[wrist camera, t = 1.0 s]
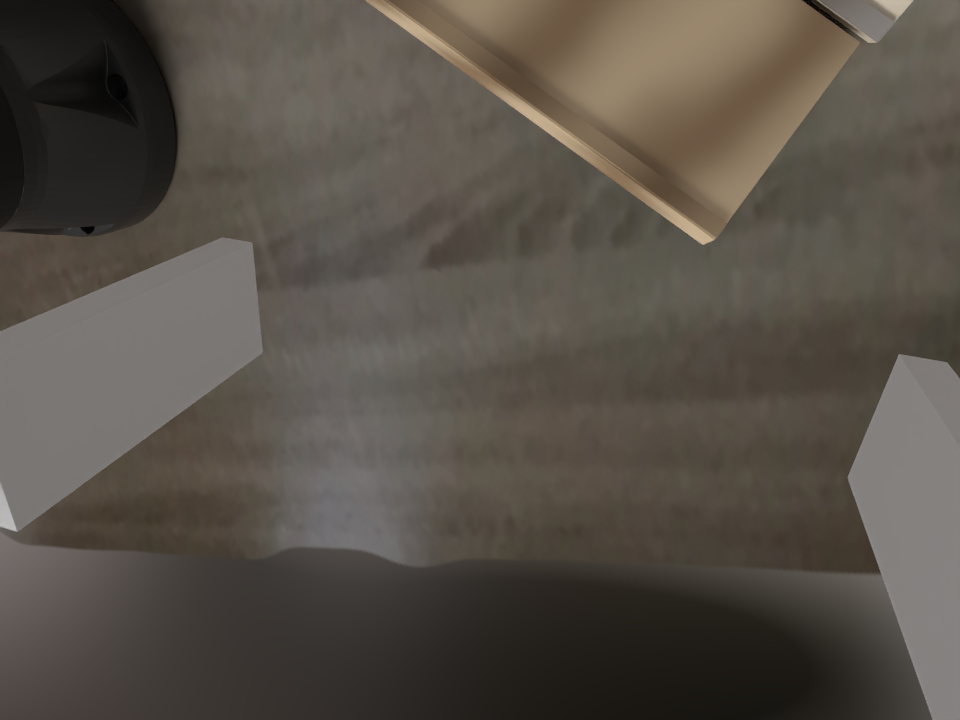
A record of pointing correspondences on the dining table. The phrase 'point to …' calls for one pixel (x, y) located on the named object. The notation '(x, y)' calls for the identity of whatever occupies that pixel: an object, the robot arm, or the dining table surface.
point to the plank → (648, 84)
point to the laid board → (865, 15)
